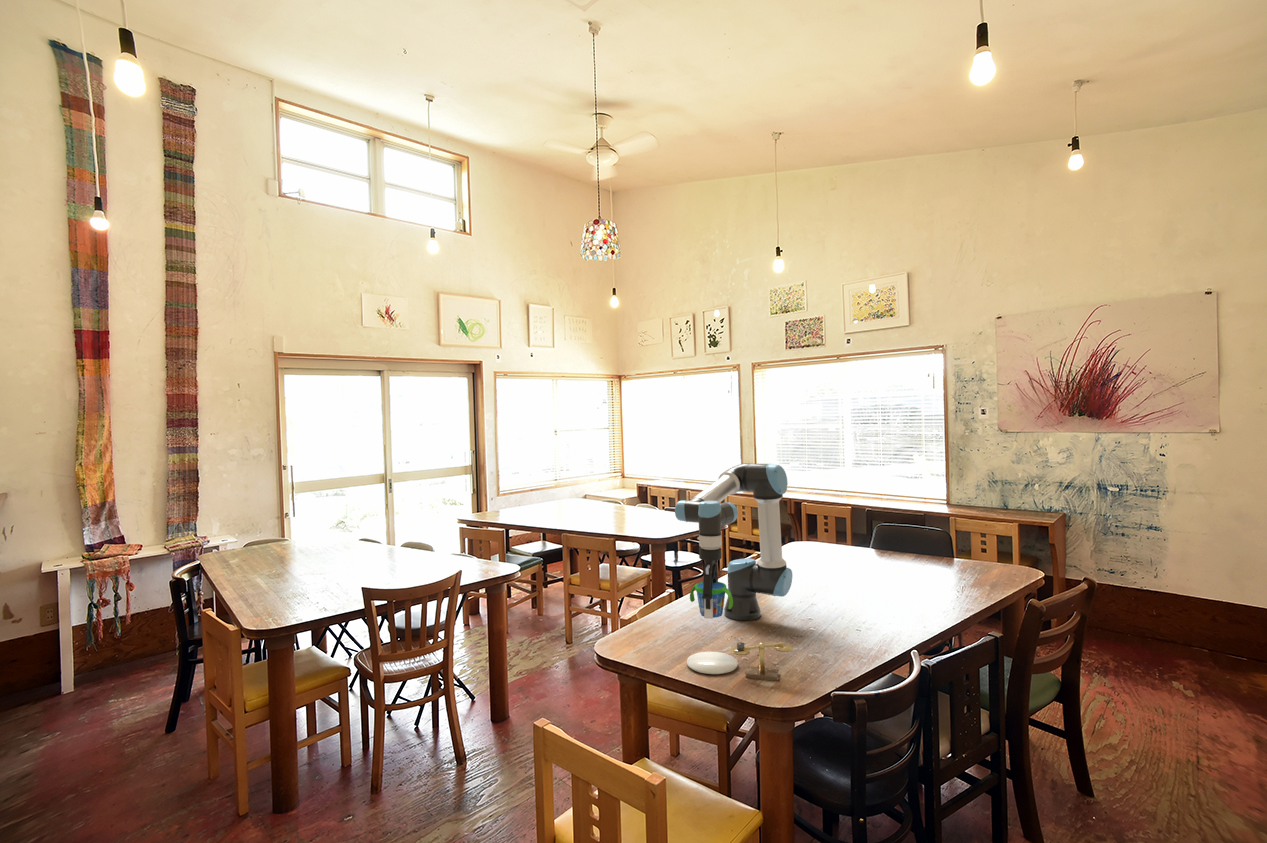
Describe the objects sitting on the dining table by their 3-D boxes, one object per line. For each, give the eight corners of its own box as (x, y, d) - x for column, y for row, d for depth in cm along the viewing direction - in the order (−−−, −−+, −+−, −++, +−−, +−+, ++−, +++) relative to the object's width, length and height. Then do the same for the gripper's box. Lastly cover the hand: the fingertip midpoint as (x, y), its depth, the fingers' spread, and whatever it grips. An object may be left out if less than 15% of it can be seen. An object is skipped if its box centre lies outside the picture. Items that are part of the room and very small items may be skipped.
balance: (733, 668, 201) (732, 634, 201) (793, 674, 196) (793, 640, 196) (730, 675, 196) (730, 641, 196) (793, 682, 190) (792, 647, 190)
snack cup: (683, 614, 206) (682, 584, 206) (701, 606, 213) (701, 577, 213) (721, 624, 195) (720, 592, 195) (739, 616, 203) (739, 585, 203)
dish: (692, 652, 215) (692, 649, 215) (740, 657, 210) (740, 654, 210) (682, 672, 199) (682, 668, 199) (734, 678, 194) (734, 674, 194)
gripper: (704, 540, 216) (705, 602, 216) (692, 553, 195) (694, 623, 195) (725, 541, 214) (726, 604, 214) (716, 555, 192) (717, 625, 193)
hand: (711, 613), depth 204 cm, fingers closed on snack cup, 9 cm apart
